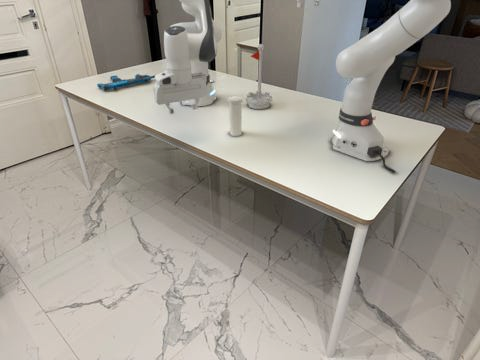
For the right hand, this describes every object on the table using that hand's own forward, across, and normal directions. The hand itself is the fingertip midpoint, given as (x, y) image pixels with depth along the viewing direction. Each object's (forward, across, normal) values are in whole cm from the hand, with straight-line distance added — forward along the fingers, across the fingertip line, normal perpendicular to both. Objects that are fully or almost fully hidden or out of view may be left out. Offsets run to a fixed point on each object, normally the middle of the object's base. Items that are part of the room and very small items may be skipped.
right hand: (308, 6), depth 134 cm
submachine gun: (+48, -45, +103) cm, 122 cm away
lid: (+32, -32, +5) cm, 46 cm away
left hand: (+34, -54, +8) cm, 65 cm away
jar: (+48, -32, +5) cm, 58 cm away
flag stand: (+48, -3, +25) cm, 54 cm away
